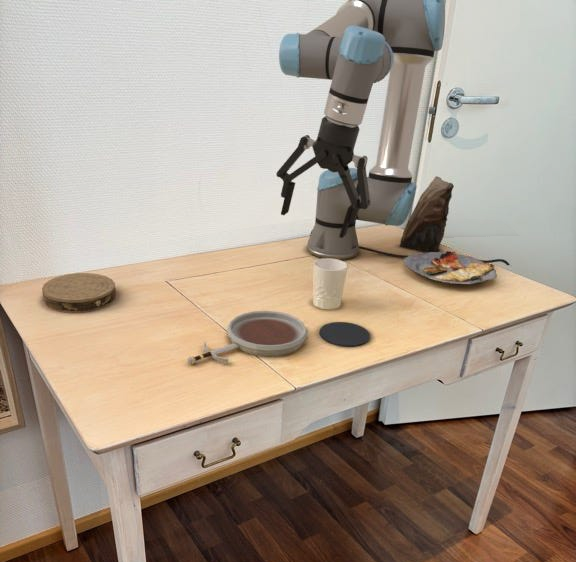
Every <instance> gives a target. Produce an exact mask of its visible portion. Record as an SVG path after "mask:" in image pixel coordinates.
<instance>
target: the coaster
mask: <svg viewBox="0 0 576 562" xmlns="http://www.w3.org/2000/svg"><path fill="white" fill-rule="evenodd" d="M319 336H320V338H321V339H322V340H323V341H325V342H327V344H331V345H333V346H338V347H344V348H355V347H360V346H364V345H365V344H367V343H368V342H369V341H370V339H371V334H370V331H368V330H367V329H366V328H365V327H363V326H361V325H359V324H357V323H352V322H346V321H334V322H330V323H326V324H324V325H322V326H321V327H320V329H319Z"/></svg>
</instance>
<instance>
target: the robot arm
mask: <svg viewBox="0 0 576 562" xmlns="http://www.w3.org/2000/svg"><path fill="white" fill-rule="evenodd" d="M445 30H446V3H445V0H347V1H346V2H344V3H343V4H342V5H340V6H339V8H338V10H337V12H336V13H335V14H334V15H333V16H331V17H330V18H328V19H327V20H326V21H324V22H322V23H321V24H319V25H318V26H317V27H315V28H313V29H312V30H310V31H309V32H307V33H299V32H296V33H287V34H285V35H284V36H283V37H282V38H281V41H280V45H279V50H278V63H279V68H280V70H281V72H282V73H283V74H284V76H285V75H286V76H289V77H296V78H306V79H308V78H309V79H318V80H329V81H331V82H330V86H329V91H328V94H327V98H326V102H325V106H324V110H323V114H324V116H323V117H322V118H321V122H320V125H319V129H318V133H317V137H316V139H315V140H314V139H312V138H311V137H310V135H309V134H306V135H303V136H302V137H300V139H299V142H298V145H297V147H296V148H295V150H294V151H293V152H292V153H291V155H290V156H289V157H288V158H287V160H286V161H285V162H284V163H283V164H282V165H281V167H280V168H279V169H278V170H277V172H276V177H277V178H280V179H281V180H282V182H283V183H282V188H281V192H280V198H284V199H283V201H282V202H283V203H282V206H281V212H280V215H281V216H285V215H286V214H288V213H289V211H290V208H291V203H292V198H293V195H294V190H295V187H296V182H294V181H293V180H295V179H296V178H297V177H299V176H301V175H302V174H303V173H305V172H306V171H307V170H309V169H311V168H312V167H313V166H315V165H318V166H319V168H321V169H322V170H323V172H321V173H320V174H319V177H318V186H317V188H316V191H317V192H316V207H315V218H314V225H313V228H312V230H311V231H310V235H309V238H308V240H307V244H306V252H307V253H309V254H310V255H312V256H314V257H317V258H319V259H325V258H330V259H337V260H341V261H343V260H350V259H354V258H355V257H357V256H358V255H359V251H360V250H364V251H368V252H371V253H375V254H379V255H383V256H389V257H395V258H403V259H405V258H406V257H408V256H413V255H414V254H412V255H407V254H395V253H389V252H385V251H381V250H376V249H373V248H369V247H365V246H360V244H359V239H358V235H357V230H356V229H357V228H356V223H357V221H361V222H368V223H375V224H380V225H384V226H394V227H399V226H402V225H403V224H405V222H406V220H407V219H408V217H409V214H410V212H411V209H412V207H413V204H414V200H415V196H416V191H417V184H416V183H415V182H412V181H413V174H412V172H411V171H410V169H409V164H410V158H411V154H412V147H413V143H414V134H415V129H416V125H417V119H418V114H419V108H420V107H419V106H420V101H421V95H422V91H423V84H424V78H425V72H426V67H427V65H429V64H430V63H431V62H432V61H433V60H434V56H435V52H439V51H441V50H442V49H443V45H444V39H445ZM387 75H388V80H387V88H386V95H385V101H384V108H383V115H382V122H381V129H380V135H379V141H378V149H377V153H376V162H375V165H374V166H372V167H371V168H369V171H368V175H367V164H368V156H367V155H361V156H360V155H356V154H355V153H354V150H355V146H356V143H357V140H358V136H359V133H360V125H361V124H363V119H364V116H365V113H366V109H367V106H368V102H369V98H370V95H371V92H372V88H373V86H374V84H376V83H380V81H382V80H384V79H385V78H386V77H387ZM311 147H312V151H313V154H314V157H312V158H310V159H309V160H307V162H305V163H304V164H302V165H301V166H300V167H298V168H297V169H295V170H294V171H292V172H291V173H288V172H289V171H290V169H291V168H292V167H293V166H294V164H295V163H296V162H298V159H300V158H301V156H302V155H303V153H304V152H305V151H306V150H309V149H310V148H311ZM352 162H353V164H354V167H349V164H350V163H352ZM480 260H481V261H482V262H484V263H486V264H492V263H497V262H498V263H500V262H501V263H504V264H505V265H506V266H511V264H510V263H509V262H508V260H505V259H503V258H497V259H488V260H484V259H480Z"/></svg>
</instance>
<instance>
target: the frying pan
mask: <svg viewBox="0 0 576 562" xmlns="http://www.w3.org/2000/svg"><path fill="white" fill-rule="evenodd" d="M226 332H227V335H228V337H229V338H230V341H231V343H230V344H228V345H225V346H221V347H218V348H216V349H213V350H209V349H208V348H207V343H206V341H204V342H203V347H202V348H203V352H205V353H201V354H198V355H196V356H193V355H189V356H188V358H187V363H188V364H190V365H194V364H195V363H196V362H198V361H200V360H204V359H206V358H209V357H211V358H213V359H214V360H215V361H218V362H222V363H226V364H227V363H229V358H227V357H223V356H218V355H219V354H221V353H225V352H227V351H231V350H233V349H237V350H240V351H242V352H244V353H246V354H250V355H253V356H262V357H279V356H281V357H282V356H284V355H289V354H292V353H294V352H296V351H298V350H299V349H300V348H301V347H302V346H303V345H304V342H305V340H306V339H307V338H308V329H307V327H306V325H305V323H304V322H303V321H301V319H300V318H298V317H297V316H294V315H292V314H289V313H285V312H281V311H276V310H254V311H248V312H244V313H242V314H239V315H237V316H234V318H233V319H232V320H231V321H229V323H228V325H227V328H226Z"/></svg>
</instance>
